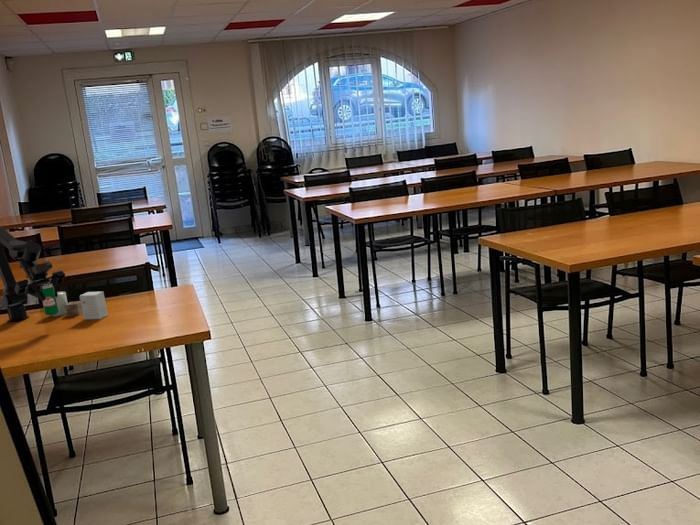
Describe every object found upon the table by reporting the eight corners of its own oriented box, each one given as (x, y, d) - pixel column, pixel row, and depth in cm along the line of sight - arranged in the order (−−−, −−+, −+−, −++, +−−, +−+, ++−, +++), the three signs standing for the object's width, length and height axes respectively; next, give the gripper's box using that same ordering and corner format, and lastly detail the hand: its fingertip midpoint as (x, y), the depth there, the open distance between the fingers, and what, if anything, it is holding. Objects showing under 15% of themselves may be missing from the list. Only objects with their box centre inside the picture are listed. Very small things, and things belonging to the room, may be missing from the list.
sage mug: (68, 314, 283) (64, 294, 281) (51, 317, 281) (47, 297, 279) (70, 309, 291) (66, 290, 289) (53, 312, 289) (49, 292, 287)
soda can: (44, 316, 257) (38, 287, 255) (46, 313, 262) (40, 284, 259) (57, 314, 258) (52, 285, 256) (59, 311, 263) (54, 282, 261)
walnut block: (67, 316, 280) (65, 305, 279) (71, 313, 285) (69, 302, 284) (79, 315, 280) (77, 304, 279) (83, 311, 285) (81, 300, 284)
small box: (108, 315, 275) (104, 291, 273) (100, 319, 270) (95, 295, 268) (92, 315, 278) (87, 291, 275) (83, 319, 272) (79, 295, 270)
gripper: (11, 261, 251) (30, 292, 246) (58, 250, 264) (77, 279, 260) (6, 279, 257) (25, 309, 253) (52, 268, 271) (71, 296, 267)
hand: (50, 298), depth 258 cm, fingers closed on soda can, 5 cm apart
